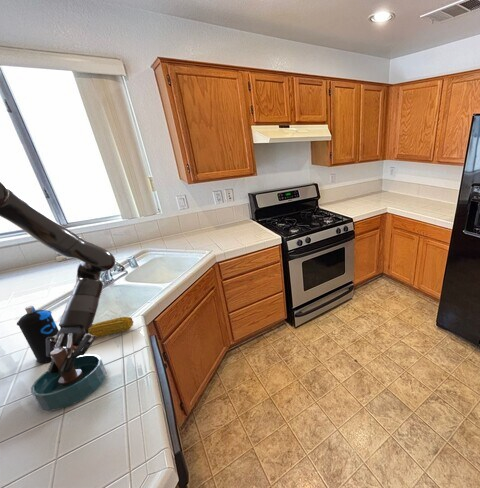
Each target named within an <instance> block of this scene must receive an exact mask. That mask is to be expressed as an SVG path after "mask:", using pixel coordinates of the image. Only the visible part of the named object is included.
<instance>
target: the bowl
mask: <svg viewBox="0 0 480 488" xmlns="http://www.w3.org/2000/svg"><path fill="white" fill-rule="evenodd" d="M73 366H74V368H75V369H81V370H82V372H83V376H82V377H81V378H80V379H79V380H78V381H76V382H75V383H73V384H71V385H68V386H60V384H59V382H58V381H59V379H60V378H61V377H62V376H61V374H60V372H59V371H58V373H48V372H49V371H48V370H47V371H45V372H44V373H42V374H41V375H40V376H39V377H38V378H37V379H36V380H35V381H33V384H32V385H31V386H30V393H31V395H32V397H33V399H34V400H35V402H36V404H37V405H38V407H39V408H40V409H41V410H43V411H55V410H56V411H57V410H60V409H64V408H67V407H69V406H71V405H74V404H75V403H77V402H79V401H81V400H84V399H85V398H86V397H88V396H89V395H91V394H92V393H94V392H95V391H96V390H97V389H98V388H99V387H100V386H101V385H102V384H103V383H104V381H105V380H106V378H107V376H108V375H107V374H108V371H107V369H106V366H105V364H104V363H103V360H102V357H101V356H100V355H99V354H95V353H94V354H93V353H88V354H84V355H83V356H78V357H77V358H76V359H75V362H74V365H73Z"/></svg>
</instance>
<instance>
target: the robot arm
mask: <svg viewBox="0 0 480 488" xmlns="http://www.w3.org/2000/svg"><path fill="white" fill-rule="evenodd" d="M0 217H1V218H3V219H5V220H7V221H9V222H10V223H12V224H13V225H15V226H17V227H18V228H20V229H21V230H22V231H24V232H25V233H26V234H28V235H29V236H31V237H32V238H33V239H35V240H36V241H38V242H39V243H41V244H42V245H43V246H45V247H47V248H49V249H50V250H52V251H54V252H55V253H57V254H59V255H60V256H62V257H64V258H67V259H76V260H79V263H78V265H77V268H76V277H75V284H74V287H73V290H72V291H71V295H70V297H69V299H68V300H67V302H66V305H65V307H64V311H63V313H62V315H61V318H60V321H59V324H58V326H59V327H60V329H58V330H59V332H58V333H57V335H55V336H53V337H47V338H46V356H47V357H51V358H52V356H51V355H50V353H51V352H52V350H55V349H57V348H59V347H61V346H64V348H65V350H66V351H67V350H68V351H67V358H66V359H65V361H64V364H63V367H62V369H61V373H69V372H70V371H71V370H72V368H73V365H74V362H75V359H76V358H77V357H78V356H83V355H86V353H87V351H88V350H89V348H90V347H91V345H92V344H93V343H94V342H95V340H96V338H97V337H96V336H94V335H90V334H89V331H88V329H89V328H90V327H91V326H92V324H94V321H95V317H96V315H97V310H98V308H99V303H100V298H101V295H102V292H103V289H104V282H103V281H102V280H101V275H102V273H105V272H108V271H111V270H112V269H113V268H114V267H115V266H116V258H115V256H114V255H113V253H111V252H110V251H109V250H107V249H105V248H103V247H101V246H99V245H96V244H94V243H92V242H89V241H87V240H85V239H83V238H82V237H80V236H79V235H77V234H75V233H74V232H72V231H71V230H69V229H68V228H66V227H65V226H63V225H61V224H60V223H58V222H57V221H55V220H54V219H52V218H50V217H49V216H47V215H45V214H43V213H42V212H40V211H39V210H37V209H36V208H35V207H33V206H31V205H30V204H29V203H27V202H26V201H25V200H23V199H22V198H21V197H20V196H18V195H17V194H16V193H15V192H14V191H13V190H12V189H11V188H10V187H9V186H8V185H7V184H6V183H5V182H4V181H3V179H1V178H0ZM48 366H49V367H48V370H47V371H49V372H48V373H58V371H59V370H58V368H57V366H56V364H55V362H54V360H53V358H52V361H51V362H50V363H49V365H48Z"/></svg>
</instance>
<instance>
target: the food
mask: <svg viewBox="0 0 480 488" xmlns="http://www.w3.org/2000/svg"><path fill="white" fill-rule="evenodd" d="M133 326H134V320H133V318H132V317H130V316H120V317H115V318H111V319H108V320H102V321H100V322H99V321H98V322H96V323H92V326H91V327H90V328H89V329H88V331H89V334H90V335H94V336H96V338H102V337H105V336H108V335H113V334H114V335H115V334H117V333H120V332H121V333H122V332H125V331H129V330H130V329H132V327H133Z"/></svg>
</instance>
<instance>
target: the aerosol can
mask: <svg viewBox="0 0 480 488" xmlns="http://www.w3.org/2000/svg"><path fill="white" fill-rule="evenodd" d="M24 310H25V312H26V313H25V314H24V315H22V316H21V317H20V318H19V319H18V321H17V322H16V325H17V326H18V327H19V329H20V331H21V332H22V335H23V337H24V338H25V340H26V342H27V344H28V346H29V348H30V350H31V352H32V353H33V355H34V358H35V359H36V363H38V364H46V363H47V364H48V363H51V361H52V358H51V357H47V356H46V338H47V337H53V336H55V335H57V333H58V332H59V330H60V329H59V328H58V325H57V323H56V321H55V319H54V318H53V315H52V311H50V310H46V309H37V310H36V308H35V306H34V305H29V306H26V307H25V308H24ZM61 347H64V346H61ZM52 351H53V350H52ZM67 351H68V350H67ZM67 351H66V352H67Z"/></svg>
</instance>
